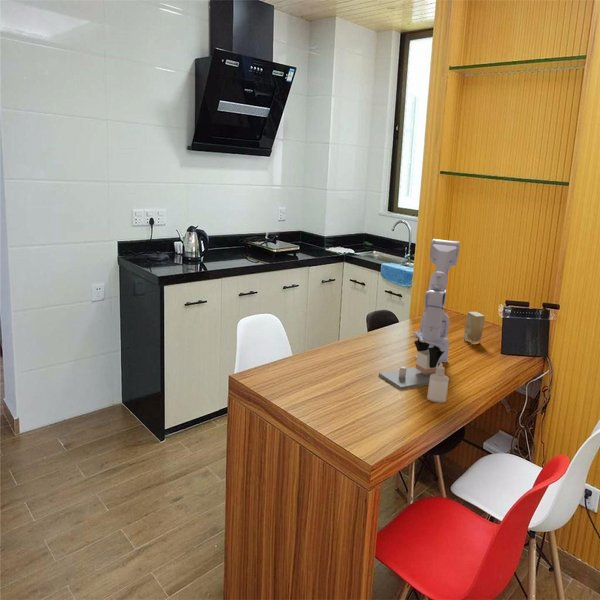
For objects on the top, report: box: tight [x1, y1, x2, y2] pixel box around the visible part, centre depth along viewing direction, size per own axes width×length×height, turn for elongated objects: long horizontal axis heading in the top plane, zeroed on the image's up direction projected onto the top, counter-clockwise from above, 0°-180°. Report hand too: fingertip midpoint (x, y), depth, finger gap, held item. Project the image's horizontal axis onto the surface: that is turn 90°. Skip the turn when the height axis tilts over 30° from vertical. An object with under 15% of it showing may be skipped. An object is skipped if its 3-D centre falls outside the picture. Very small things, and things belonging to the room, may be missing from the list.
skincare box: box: [463, 311, 486, 343], centre depth 219 cm, size 6×4×12 cm
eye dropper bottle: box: [426, 363, 450, 404], centre depth 163 cm, size 4×6×12 cm
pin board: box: [378, 366, 450, 391], centre depth 179 cm, size 20×12×4 cm, turn 117°
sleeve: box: [415, 350, 439, 374], centre depth 181 cm, size 5×5×6 cm
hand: (427, 364), depth 181 cm, fingers closed on sleeve, 5 cm apart
